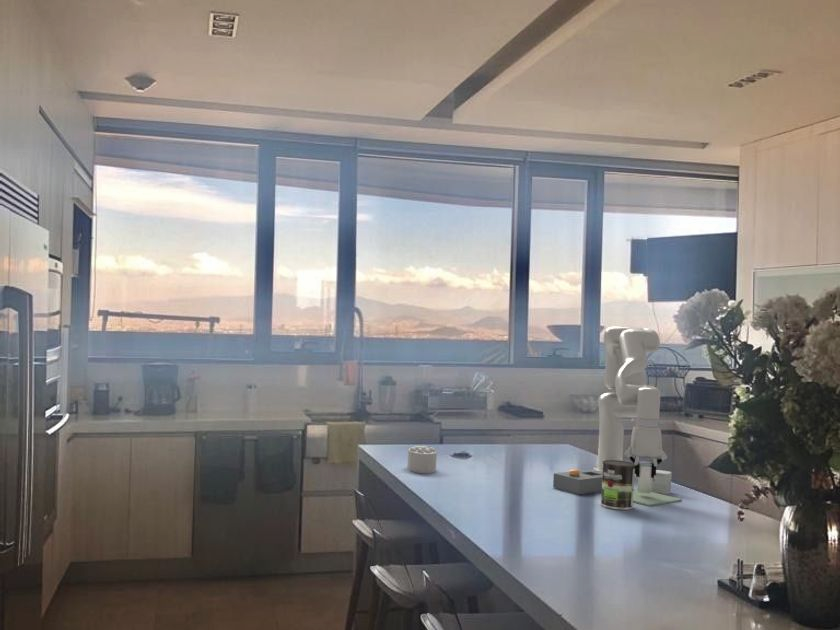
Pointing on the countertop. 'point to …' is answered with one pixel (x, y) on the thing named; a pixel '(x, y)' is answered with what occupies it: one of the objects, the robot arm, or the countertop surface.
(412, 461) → the lumpy-topped squat cylinder
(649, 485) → the cartridge
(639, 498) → the mat
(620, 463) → the coffee can
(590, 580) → the countertop surface
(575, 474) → the orange egg
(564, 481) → the block
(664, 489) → the product box
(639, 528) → the countertop surface
